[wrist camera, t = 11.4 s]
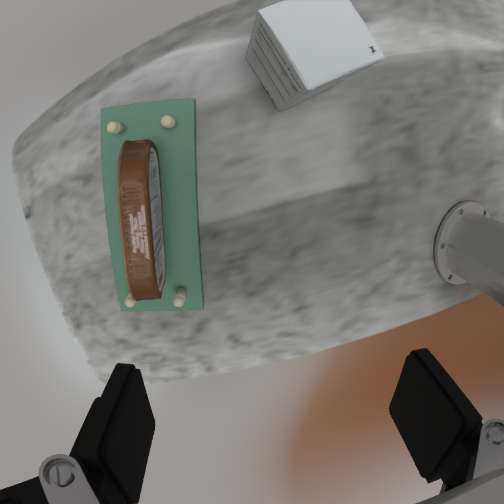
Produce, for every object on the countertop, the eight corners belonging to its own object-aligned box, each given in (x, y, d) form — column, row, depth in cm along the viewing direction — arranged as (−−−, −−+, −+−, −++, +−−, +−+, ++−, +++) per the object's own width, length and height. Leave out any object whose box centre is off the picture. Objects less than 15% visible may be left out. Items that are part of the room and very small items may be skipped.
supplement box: (301, 32, 27) (340, -18, 16) (333, 87, 30) (390, 60, 18) (242, 57, 28) (255, 7, 16) (276, 113, 30) (309, 92, 18)
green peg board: (195, 100, 29) (191, 92, 25) (203, 303, 36) (202, 324, 32) (105, 110, 28) (89, 105, 24) (124, 304, 35) (113, 324, 31)
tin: (135, 141, 28) (107, 139, 20) (165, 139, 29) (145, 135, 21) (145, 279, 33) (126, 317, 25) (173, 279, 33) (160, 318, 26)
